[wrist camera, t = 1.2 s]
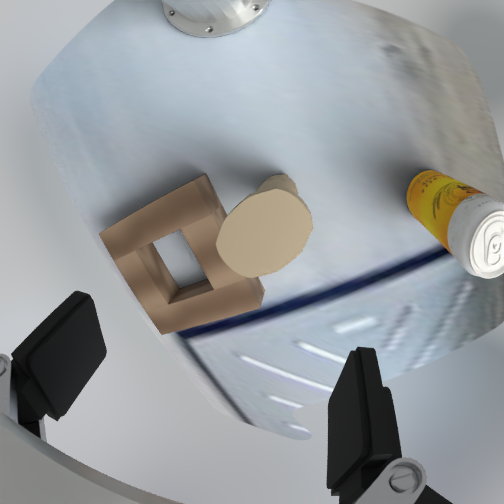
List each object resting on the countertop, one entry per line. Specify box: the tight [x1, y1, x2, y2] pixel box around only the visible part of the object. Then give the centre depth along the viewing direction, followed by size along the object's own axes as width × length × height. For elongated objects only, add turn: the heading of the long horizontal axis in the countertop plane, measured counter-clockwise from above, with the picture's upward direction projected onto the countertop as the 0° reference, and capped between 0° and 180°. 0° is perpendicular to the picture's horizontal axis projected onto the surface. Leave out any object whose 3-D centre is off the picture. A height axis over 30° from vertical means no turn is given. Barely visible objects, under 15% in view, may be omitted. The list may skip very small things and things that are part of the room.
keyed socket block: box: [99, 174, 265, 335], centre depth 36 cm, size 16×15×4 cm
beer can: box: [407, 170, 504, 279], centre depth 22 cm, size 6×6×15 cm
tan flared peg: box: [216, 174, 313, 278], centre depth 25 cm, size 5×6×15 cm
